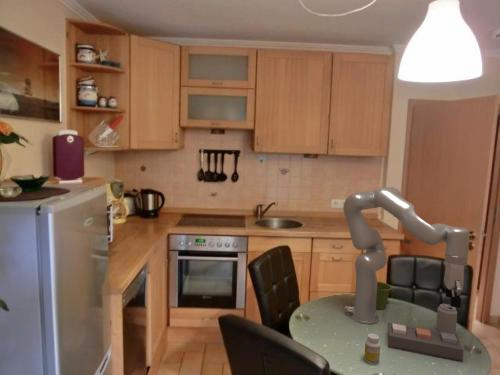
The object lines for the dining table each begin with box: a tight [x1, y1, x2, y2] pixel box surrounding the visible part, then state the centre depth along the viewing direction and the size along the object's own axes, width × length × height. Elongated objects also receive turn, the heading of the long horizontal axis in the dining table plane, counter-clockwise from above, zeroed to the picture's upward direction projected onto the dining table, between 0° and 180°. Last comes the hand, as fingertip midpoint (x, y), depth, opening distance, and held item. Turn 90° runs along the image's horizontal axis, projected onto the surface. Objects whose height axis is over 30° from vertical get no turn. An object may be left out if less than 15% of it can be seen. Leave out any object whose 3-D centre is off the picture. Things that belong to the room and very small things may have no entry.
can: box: [435, 303, 458, 334], centre depth 152 cm, size 8×8×12 cm
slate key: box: [440, 332, 457, 345], centre depth 137 cm, size 5×5×4 cm
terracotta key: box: [416, 327, 431, 340], centre depth 140 cm, size 5×5×4 cm
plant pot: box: [376, 281, 393, 310], centre depth 177 cm, size 12×12×11 cm
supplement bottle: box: [364, 333, 381, 365], centre depth 130 cm, size 5×5×10 cm
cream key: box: [392, 322, 407, 335], centre depth 144 cm, size 5×5×4 cm
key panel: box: [387, 322, 464, 363], centre depth 141 cm, size 26×12×5 cm, turn 70°
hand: (452, 301), depth 136 cm, fingers open, 9 cm apart
